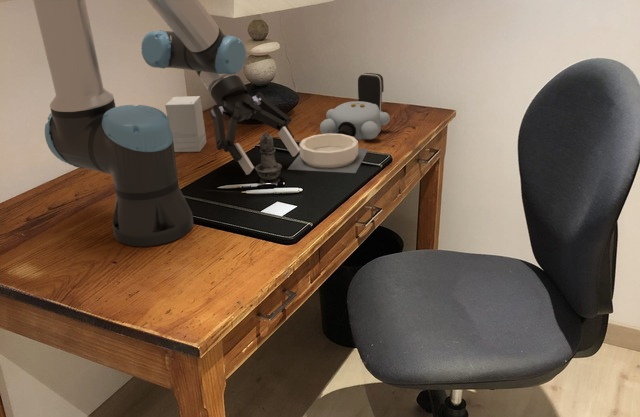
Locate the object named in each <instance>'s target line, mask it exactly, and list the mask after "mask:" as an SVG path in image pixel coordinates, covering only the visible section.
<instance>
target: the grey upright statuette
mask: <svg viewBox="0 0 640 417" xmlns="http://www.w3.org/2000/svg"><path fill="white" fill-rule="evenodd" d="M259 144H260V149H259V152H258V153H259V154H260V164H257V165H255V166H254V169H255V171H256V173H257V175H258V177H260V179H259V183H260V184H262V183H275V184H278V183H279V182H280V181H281V179H280V178H279V176H280V174H281V172H282V168H283V165H282V164H281V163H279V162H277V161H276V156H275V152H276V149H275V148H274V138H273V136H272V135H271V134H269V133H268V131H267V130H265V131H264V132H263V134H262V135H261V136H260V138H259Z"/></svg>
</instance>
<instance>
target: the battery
mask: <svg viewBox="0 0 640 417" xmlns="http://www.w3.org/2000/svg"><path fill="white" fill-rule="evenodd" d="M383 92H384V77H383V75H381V74H379V73H374V72H372V73H371V72H364V73H362V74H360V75H359V77H358V78H357V96H358V101H361V102H369V103H372V104H376V105H377V106H378V108H379V110H380V112H383V106H382V105H383V104H382V100H383Z"/></svg>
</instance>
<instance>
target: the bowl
mask: <svg viewBox="0 0 640 417" xmlns="http://www.w3.org/2000/svg"><path fill="white" fill-rule="evenodd" d="M298 147H299V148H300V151H299V154H300V157H301V158H302V159H303V161H304V163H305V164H307V165H309V166H312V167H316V168H338V167H343V166H346V165H349V164H351V163H352V162H354V161H355V159H356V157H357V155H358V148H359V141H358V140H356V139H355V138H354V137H352V136H348V135H344V134H330V133H327V134H322V133H321V134H320V133H319V134H314V135H311V136H309V137H306V138H303V139H302V140H301V141H300V142H299V145H298Z"/></svg>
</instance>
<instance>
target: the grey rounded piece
mask: <svg viewBox="0 0 640 417" xmlns="http://www.w3.org/2000/svg"><path fill="white" fill-rule="evenodd" d="M325 117H326V119H323V121H321V123H320V125H319V130H320V132H321V134H327V133H330V134H344V135H348V136H352V137H354V138H355V139H356V140H357V141H358V140H359V141H360V140H373V139H375V138H376V137H378V135H379V134H380V133H381V131H382V127H383V126H386V125H388V124H390V120H391V117H390V114H389V113H388V112H385V111H382V112H380V110H379V108H378V106H377V105H376V104H372V103H369V102H361V101H359V100H358V101H357V100H356V101H347V102H343V103H341V104H339V105H337V106H336V107H335V108H330V109H328V110H327V112H326V116H325Z"/></svg>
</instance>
